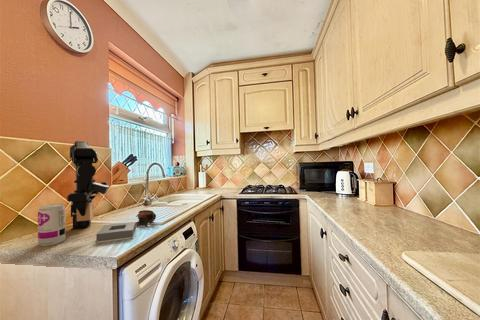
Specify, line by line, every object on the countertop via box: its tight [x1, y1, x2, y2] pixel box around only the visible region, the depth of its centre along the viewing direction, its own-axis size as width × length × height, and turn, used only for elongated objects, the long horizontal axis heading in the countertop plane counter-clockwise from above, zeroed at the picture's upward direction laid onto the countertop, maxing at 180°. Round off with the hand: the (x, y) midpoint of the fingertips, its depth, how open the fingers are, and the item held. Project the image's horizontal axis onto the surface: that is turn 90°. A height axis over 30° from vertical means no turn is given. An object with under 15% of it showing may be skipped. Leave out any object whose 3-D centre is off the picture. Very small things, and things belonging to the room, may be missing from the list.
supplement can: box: [37, 203, 67, 247], centre depth 85 cm, size 8×8×15 cm
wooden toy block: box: [77, 200, 94, 221], centre depth 88 cm, size 4×4×7 cm
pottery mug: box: [135, 209, 157, 227], centre depth 109 cm, size 12×10×8 cm
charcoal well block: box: [95, 221, 137, 244], centre depth 92 cm, size 13×13×4 cm
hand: (85, 214), depth 88 cm, fingers closed on wooden toy block, 4 cm apart
